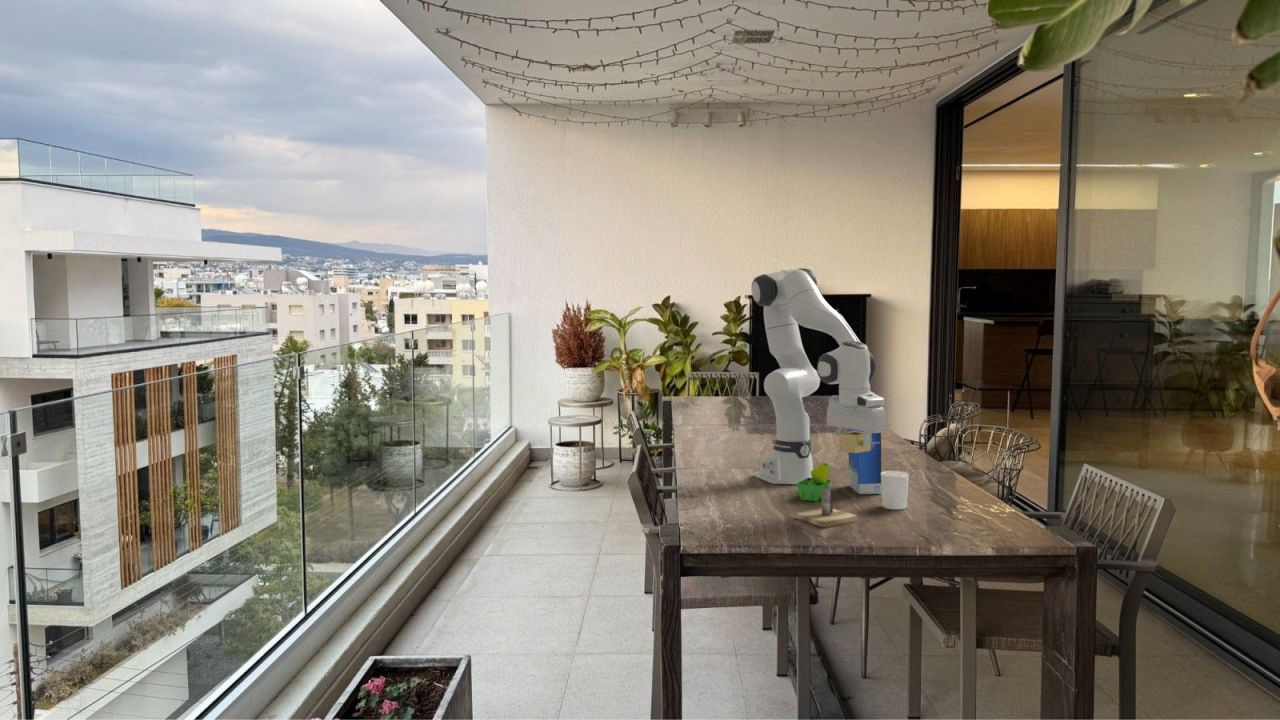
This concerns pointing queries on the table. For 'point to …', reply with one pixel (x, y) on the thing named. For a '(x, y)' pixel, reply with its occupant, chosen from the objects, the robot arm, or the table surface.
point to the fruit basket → (814, 483)
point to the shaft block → (826, 513)
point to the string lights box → (866, 468)
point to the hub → (852, 442)
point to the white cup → (894, 489)
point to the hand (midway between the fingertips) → (854, 444)
